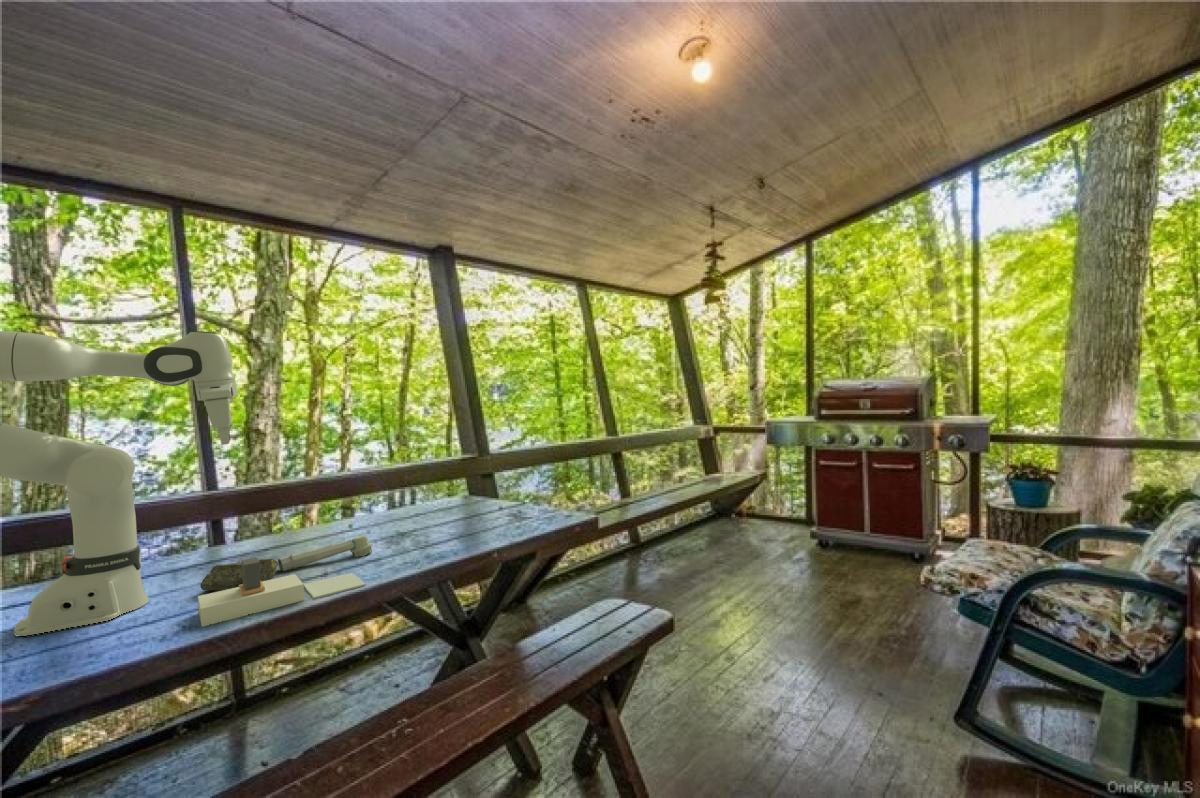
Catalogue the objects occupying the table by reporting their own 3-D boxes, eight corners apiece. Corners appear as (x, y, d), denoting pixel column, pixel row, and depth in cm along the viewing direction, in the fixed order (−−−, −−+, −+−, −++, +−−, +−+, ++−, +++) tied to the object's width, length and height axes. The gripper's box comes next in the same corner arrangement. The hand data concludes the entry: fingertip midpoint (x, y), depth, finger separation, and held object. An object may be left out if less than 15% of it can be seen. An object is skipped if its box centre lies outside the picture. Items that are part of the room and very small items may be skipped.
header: (201, 626, 114) (200, 608, 114) (198, 613, 121) (197, 596, 121) (304, 600, 127) (303, 584, 127) (295, 589, 135) (295, 574, 134)
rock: (277, 556, 149) (278, 555, 141) (277, 581, 147) (278, 581, 139) (202, 567, 139) (199, 567, 131) (202, 593, 138) (198, 595, 130)
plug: (243, 613, 120) (241, 566, 120) (239, 605, 125) (237, 560, 125) (265, 607, 123) (263, 561, 123) (261, 600, 128) (259, 556, 128)
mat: (314, 599, 128) (314, 597, 128) (303, 586, 137) (303, 584, 137) (365, 585, 135) (365, 583, 135) (352, 574, 144) (352, 572, 144)
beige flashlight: (276, 556, 151) (367, 529, 166) (281, 578, 152) (371, 548, 167) (278, 561, 147) (371, 532, 162) (283, 583, 148) (375, 552, 162)
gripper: (205, 393, 145) (214, 442, 147) (199, 393, 128) (209, 448, 130) (232, 390, 149) (240, 437, 150) (230, 390, 132) (239, 443, 133)
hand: (226, 442), depth 140 cm, fingers open, 8 cm apart
